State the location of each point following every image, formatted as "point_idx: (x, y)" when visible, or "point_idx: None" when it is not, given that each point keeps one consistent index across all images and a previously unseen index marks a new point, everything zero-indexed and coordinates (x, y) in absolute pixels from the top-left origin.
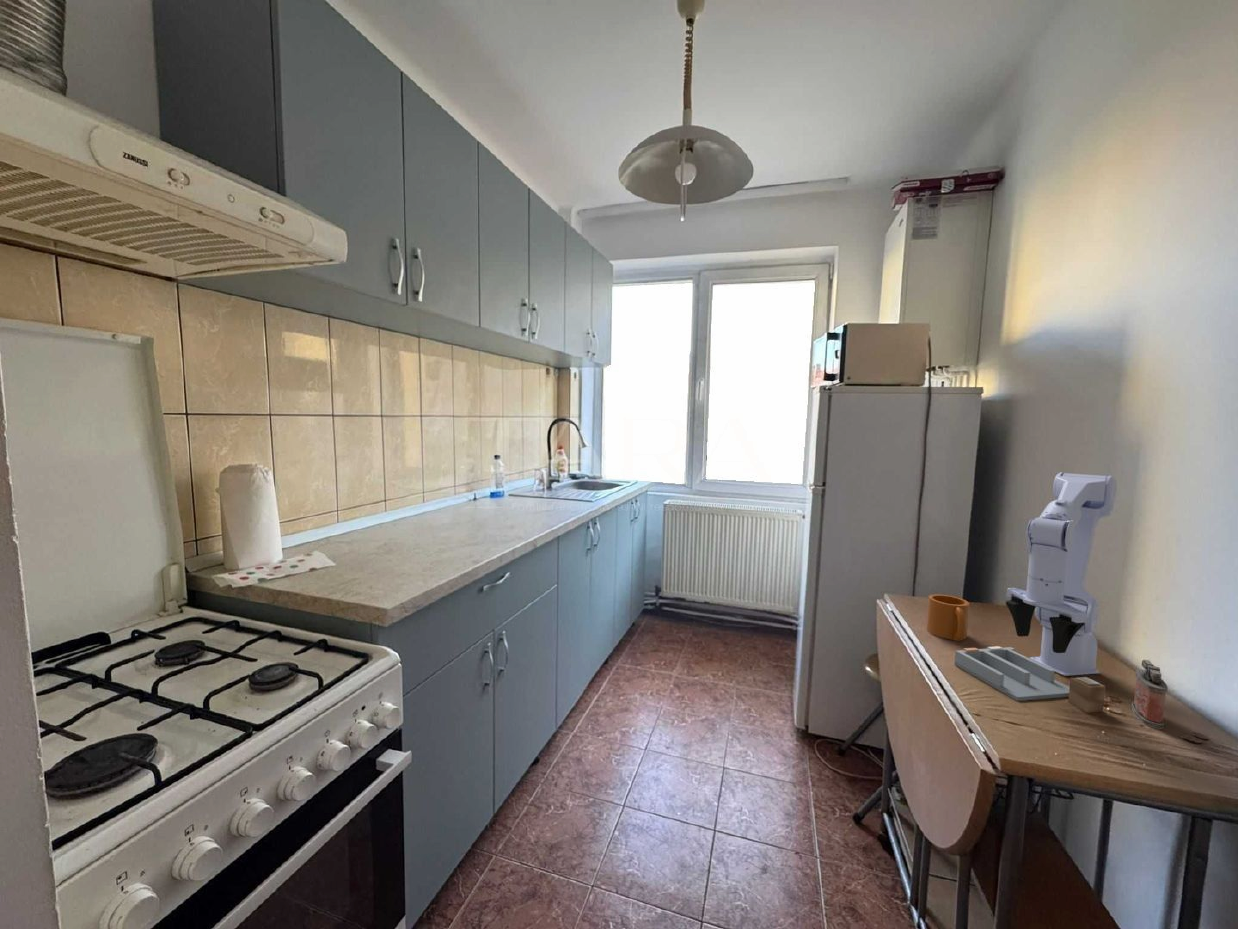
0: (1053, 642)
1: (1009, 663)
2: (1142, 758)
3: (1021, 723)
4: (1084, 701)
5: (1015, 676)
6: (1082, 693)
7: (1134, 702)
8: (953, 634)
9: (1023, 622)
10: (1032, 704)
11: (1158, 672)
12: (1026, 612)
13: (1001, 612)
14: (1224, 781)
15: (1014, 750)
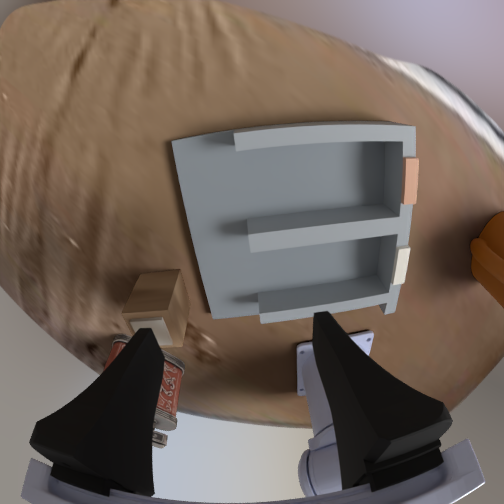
0: (132, 355)
1: (314, 235)
2: (18, 239)
3: (77, 82)
4: (141, 286)
5: (277, 219)
6: (142, 296)
7: (168, 366)
8: (486, 242)
9: (333, 379)
10: (160, 171)
11: None
12: (344, 434)
13: (475, 374)
14: (11, 296)
15: (14, 30)
